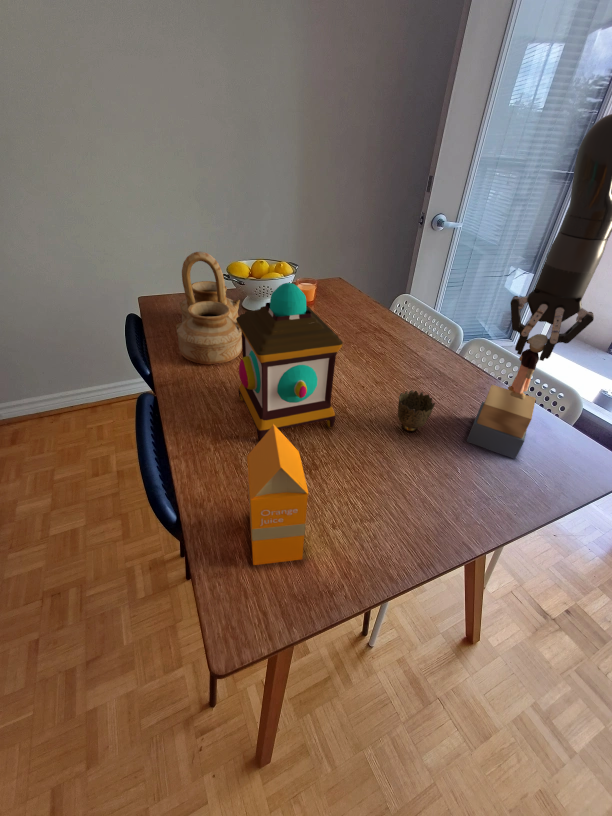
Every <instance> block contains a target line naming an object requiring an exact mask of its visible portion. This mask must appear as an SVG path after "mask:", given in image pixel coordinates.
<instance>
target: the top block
mask: <svg viewBox="0 0 612 816" xmlns="http://www.w3.org/2000/svg"><path fill="white" fill-rule="evenodd" d="M511 392H513V391H510V390H509V389H508V388H505V387H501V386H498V385H496V384H495V385H494V384H491V385H490V388H489V390H488V391H487V395H486V398H485V400H484V402H485V403H484V405H483V408H482V410H481V413H480V415H479V418H478V420H477V423H478V424H481V425H484V426H487V427H490V428H492V429H495V430H498V431H501V432H504V433H507V434H510V435H513V436H516V437H519V438H523V436H524V434H525V432H526V433H527V431H528V427H529V425H530V424H531V421H532V420H533V414H534V409H535V405H536V400H537V398H536V397H535V396H531V395H528V394H525V399H519V398H516V397H513V396H511ZM526 430H527V431H526Z"/></svg>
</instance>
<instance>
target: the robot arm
mask: <svg viewBox="0 0 612 816" xmlns="http://www.w3.org/2000/svg"><path fill="white" fill-rule="evenodd" d="M574 162H575V164H574V168H573V169H574V170H573V176H572V177H573V178H572V185H571V189H570V190H571V191H570V200H569V204H568V207H567V210H566V212H565V215H564V218H563V220H562V223H561V225H560V227H559V230H558V232H557V235H556V237H555V238H554V240H553V242H552V244H551V246H550V247H549V251H548V253H547V254H546V258H545V260H544V262H543V265H542V268H541V270H540V273H539V276H538V278H537V281H536V284H535V286H534V288H533V290H532V291H531V292H529V294H528V295H526V296H518V295H514V296H512V298H511V300H510V316H511V317H510V318H511V329H512V331H514V332H517V333H518V334H519V337H518V339H517V342H516V345H515V347H514V351H516V355H520V356H521V355H522V352H523V351H524V348H525V347H526V344H527V342H526V341H527V340H528V339H529V336H530V333H531V332H532V330H533V328H534V327H535V326H536V325H537V323H538V322H539V323H548V324H549V325H552V327H551V333H550V336H549V338H548V341H547V343H546V344H545V348H544V350H543V351H541V352H540V355H539V360H538V361H542V362H544V361H545V359H546V360H548V359H549V358H550V357H551V355H552V352H553V350H554V349H555V346H556V345H557V344H559V343H563V344H570V342H571V341H573V340H574V339H575V338H576V337H577V336H578V335H579V334H580V333H581V332H583V330H585V329H586V328H587V327H588V326H589V325H591V324H592V323H593V321H594V320H595V315H594V312H592V311H587V310H586V309H585V308H583V307H582V300H583V298H584V295H585V294H586V292H587V290H588V288H589V285H590V283H591V280H592V278H593V277H594V274H595V272H596V270H597V268H598V266H599V264H600V262H601V260H602V258H603V255H604V253H605V250H606V247H607V243H608V241H609V239H610V237H611V234H612V113H611V114H608V115H605V116H603V117H601V118H600V119H598V120H597V121H596V122H595V123H593V125H592V126H591V127H590V129H588V131H587V132H586V134H585V135H584V137H583V139H582V140H581V142H580V145H579V147H578V149H577V154H576V158H575V161H574ZM525 304H527V305H528V307H529V310H530V313H531V315H530V317H529V318H528V320H527V321H526V323H525V324H523V323H522V318H521V317H522V315H521V310H523V309H524V307H525ZM576 314H577V315H576ZM575 315H576V317H575V321H576V322H575V323H574V324H572V325H571V326H570V327H569V328H568V329H567V330H566V331H565V332H562V333H561V332H560V331H561V327H562V323H563V322H565V321H567V320H569V318H572V317H573V316H575Z"/></svg>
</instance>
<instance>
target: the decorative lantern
mask: <svg viewBox="0 0 612 816" xmlns="http://www.w3.org/2000/svg"><path fill="white" fill-rule="evenodd" d="M236 321H237V324H238V326H239V328H240V329H241V332H242V350H241V352H242V358H241V359H240V362H239V365H238V375H239V380H240V385H239V386H238V391H237V392H238V398H239V400H240V401H242V402H243V403H244V405H245V407H246V410H247V412H248V414H249V416H250V418H251V420H252V423H253V425H254V427H255V430H256V435H257V439H258V440H257V441H258V442H259V441H260V440H261V439H262V438H263V437H264V436H265V434H266V433H267V432H268V431H269V430H270V428H271V427H272V426H273V424H274V425H275V426H276V427H277V428H278V429H279V431H281V430H283V429H289V428H294V427H299V426H304V425H310V424H314V423H319V422H323V421H324V422H325V421H326V425H327V427H328V429H329V428H330V429H331V428H333V427H334V426H335V423H336V413H335V410H334V408H333V406H332V394H333V384H334V377H335V368H336V367H335V365H336V359H337V355H338V352H339V351H340V350H341V348H342V347H343V345H344V343H343V341H342V340H341V339H340V337H339V336H338V335H337V334H336V332H335V331H334V330H332V328H330V326H328V324H326V322H325V321H323V320H322V318H320V316H319V315H318V314H316V313H315V311H314V310H312V308H310V306H308V305H307V297H306V294H305V293H304V292H303V290H301V288H300V287H299V286H298V285H296V284H295V283H293V282H285V283H284V282H283V283H282V284H280V285H279V286H277V287H276V289H274V291H272V293H271V294H270V300H269V302H266V303H265V305H264V306H261V307H260V308H259V309H255V310H247V311H245V312H244V313H241V314H240V315H238V317H237V318H236Z"/></svg>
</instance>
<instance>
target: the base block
mask: <svg viewBox="0 0 612 816" xmlns="http://www.w3.org/2000/svg"><path fill="white" fill-rule="evenodd" d="M484 403H485V401H482V402H481V404H480V405H479V406H480V407H479V409H478V411H477V413H476V417H475V419H474V421H473V424H472V426H471V429H470V431H469V434H468V437H467V440H466V442H467V443H470V444H471V445H472V444H473V445H475V446H478V447H481V448H483V449H486V450H488V451H491V452H495V453H497V454H500V455H502V456H505V457H508V458H510V459H513V460H516V459H517V457H518V455H519V453H520V451H521V449H522V448H523V445H524V443H525V439H526V435H527V431H528V429H527V430H526V432H525V434H524V436H523V438H519V437H516V436H513V435H510V434H507V433H504V432H501V431H498V430H495V429H492V428H490V427H487V426H484V425H481V424H478V423H477V420H478V418H479V415H480V413H481V410H482V408H483V405H484Z"/></svg>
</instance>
